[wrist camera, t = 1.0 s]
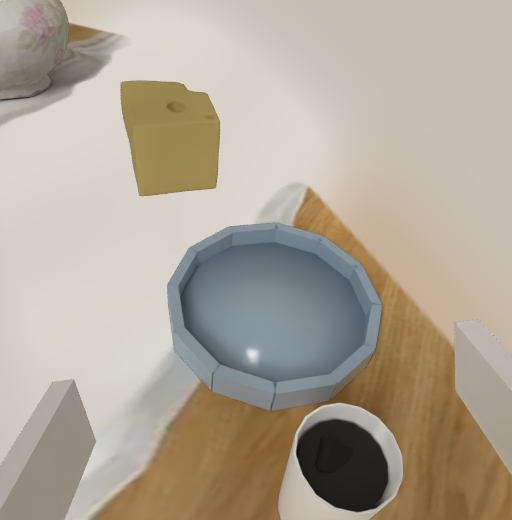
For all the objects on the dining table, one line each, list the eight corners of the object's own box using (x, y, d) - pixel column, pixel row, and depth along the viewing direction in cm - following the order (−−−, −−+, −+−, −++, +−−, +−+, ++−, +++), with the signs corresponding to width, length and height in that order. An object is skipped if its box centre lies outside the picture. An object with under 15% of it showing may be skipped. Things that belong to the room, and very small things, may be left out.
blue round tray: (129, 300, 47) (126, 281, 45) (273, 220, 58) (276, 200, 55) (269, 456, 38) (274, 440, 36) (410, 326, 48) (420, 308, 46)
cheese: (202, 144, 67) (203, 76, 60) (220, 192, 60) (224, 121, 53) (126, 150, 64) (118, 79, 57) (135, 201, 58) (128, 127, 50)
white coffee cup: (258, 534, 34) (277, 485, 27) (287, 448, 39) (310, 387, 31) (349, 575, 33) (394, 536, 26) (368, 482, 37) (410, 426, 30)
